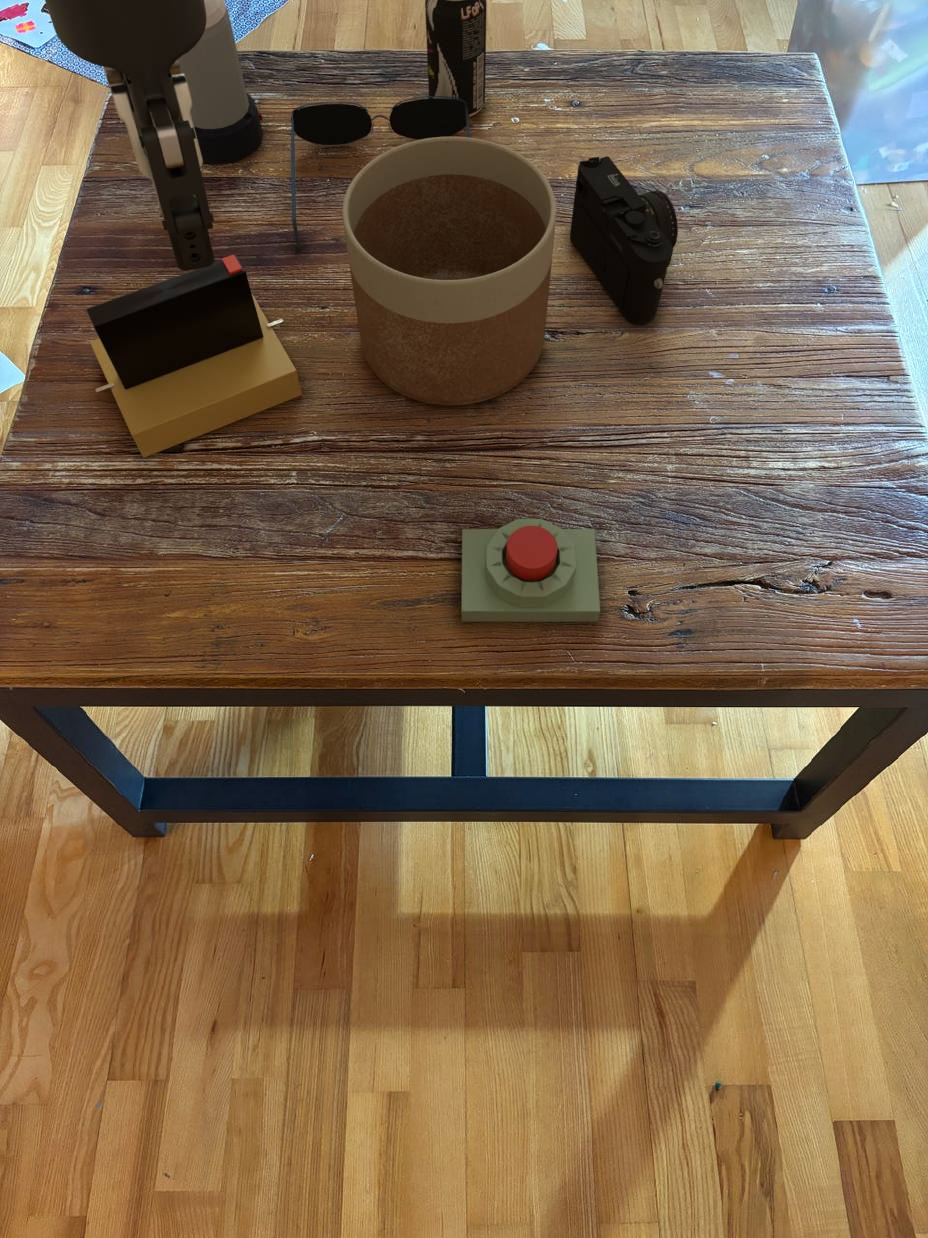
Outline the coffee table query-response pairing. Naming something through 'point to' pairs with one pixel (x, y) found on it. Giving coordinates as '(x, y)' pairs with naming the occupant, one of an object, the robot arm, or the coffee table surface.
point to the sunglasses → (355, 123)
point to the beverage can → (457, 50)
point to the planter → (450, 267)
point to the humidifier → (220, 92)
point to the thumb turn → (177, 322)
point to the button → (531, 552)
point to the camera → (623, 237)
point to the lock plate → (204, 391)
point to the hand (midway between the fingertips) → (180, 217)
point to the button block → (518, 600)
